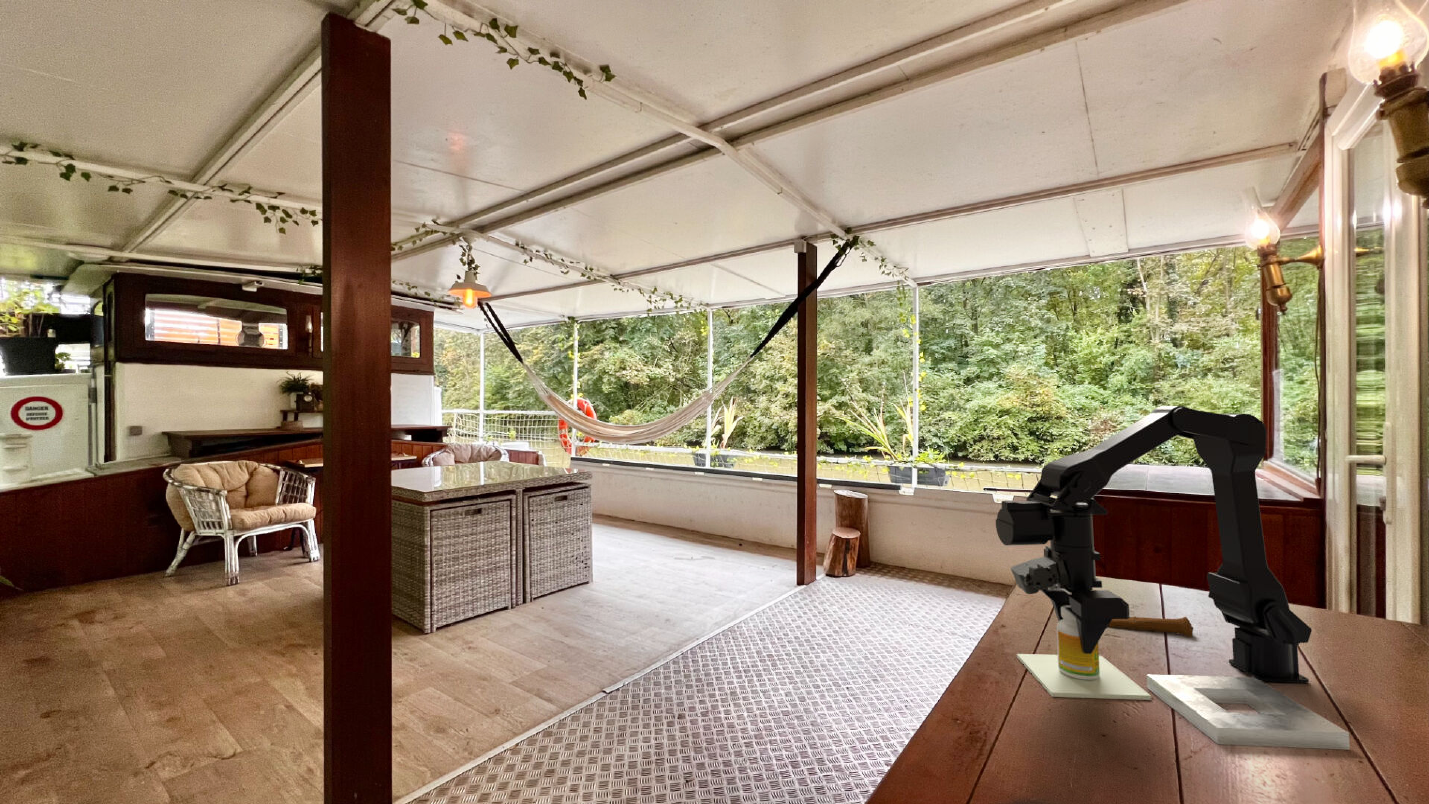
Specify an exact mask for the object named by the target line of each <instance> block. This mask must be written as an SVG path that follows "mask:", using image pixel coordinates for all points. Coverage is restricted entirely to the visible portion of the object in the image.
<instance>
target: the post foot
mask: <svg viewBox="0 0 1429 804" xmlns="http://www.w3.org/2000/svg"><path fill="white" fill-rule="evenodd" d="M1146 685H1147V686H1146V687H1147V689H1148V690H1149V691H1150V692H1151V693H1152V694H1154V695H1155V696H1156V697H1157V698H1159V699H1161V700H1162V701H1163V702H1164V703H1165V704H1167V705H1168V706H1169V707H1170V708H1172V709H1173V710H1174V711H1175V712H1176V713H1178V714H1179V715H1181V716H1182V717H1183V718H1185V719H1186V720H1187V721H1188V722H1189V723H1190V724H1192V725H1193V726H1194V727H1195V728H1197V729H1198V730H1200V731H1201V732H1202V733H1204V734H1205V736H1207V737H1208V738H1209V739H1211V740H1212V741H1214V743H1216V744H1217V745H1227V746H1228V745H1230V746H1231V745H1233V746H1254V747H1272V748H1273V747H1275V748H1278V747H1280V748H1298V749H1299V748H1300V749H1302V748H1303V749H1326V750H1346V751H1347V750H1349V751H1350V750H1351V748H1350V746H1351V745H1350V735H1349V734H1350V733H1349V731H1347V730H1346V729H1343V728H1341V727H1339V725H1336V724H1334V723H1333V722H1332V721H1329V720H1328V719H1326V718H1325V717H1323V716H1321V715H1319V714H1318V713H1316V712H1314V711H1313V710H1311V709H1309V708H1307V707H1306V706H1304V705H1302V704H1300V703H1299V702H1297V701H1295V700H1293V699H1292V698H1290V697H1288V696H1287V695H1285V694H1283V693H1282V692H1280V691H1278V690H1277V689H1275V688H1273V687H1272V686H1270V685H1268V684H1266V682H1264V681H1260V680H1258V679H1256V678H1254V677H1252V676H1225V675H1224V676H1223V675H1222V676H1219V675H1218V676H1217V675H1215V676H1214V675H1183V674H1182V675H1181V674H1178V675H1177V674H1146ZM1218 704H1233V705H1234V704H1237V705H1238V704H1240V705H1247V706H1249V707H1250V708H1251V709H1252V710H1255V711H1256V712H1258V713H1253V712H1246V713H1245V712H1228V711H1226V710H1225V709H1224V708H1222V707H1221V706H1220V705H1218Z"/></svg>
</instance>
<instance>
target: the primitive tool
mask: <svg viewBox="0 0 1429 804" xmlns="http://www.w3.org/2000/svg"><path fill="white" fill-rule="evenodd" d="M1129 617H1130V618H1129V619H1112V621H1111V622H1110V624H1109V625H1108V626H1107V628H1120V629H1128V630H1129V629H1130V630H1136V631H1137V630H1138V631H1146V632H1147V631H1148V632H1155V633H1167V634H1176V635H1177V634H1178V635H1180V636H1184V637H1188V638H1192V637H1193V635H1194V632H1193V631H1194V627H1193V624H1192V623H1191V622H1190V621H1191V620H1189V619H1188V617H1187V616H1184V617H1180V618H1159V617H1157V618H1156V617H1155V618H1154V617H1144V616H1143V617H1141V616H1140V617H1138V616H1129Z"/></svg>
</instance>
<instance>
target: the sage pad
mask: <svg viewBox="0 0 1429 804" xmlns="http://www.w3.org/2000/svg"><path fill="white" fill-rule="evenodd" d="M1016 658H1017V659H1018V661H1020V663H1022V665H1023V664H1024V665H1023V666H1024V667H1025V668H1026V670H1028V671H1029V672H1030V674H1031V673H1032V674H1031V675H1032V676H1033V677H1034V678H1035V679H1036V680H1037V682H1038V681H1039V682H1040V683H1041V684H1042V685H1041V684H1040V683H1039V682H1038V683H1039V684H1040V685H1041V686H1042V687H1043V688H1044V689H1045V690H1047V693H1048V694H1049V695H1050V696H1051V697H1054V698H1080V699H1081V698H1082V699H1086V698H1087V699H1112V700H1140V701H1141V700H1144V701H1145V700H1147V701H1151V700H1152V696H1151V694H1150V693H1148V692H1147V691H1146V690H1144V689H1143V688H1142V687H1141V686H1140V685H1138V684H1137V683H1136V682H1134V681H1133V680H1132V679H1131V678H1130V677H1129V676H1127V675H1126V674H1125V673H1124V672H1122V671H1121V670H1119V668H1117V667H1116V666H1115V665H1113V664H1112V663H1111V662H1110V661H1108V660H1107V659H1106V658H1105V657H1103V655H1099V671H1100V675H1099V677H1098V678H1097V679H1093V680H1083V679H1077V678H1073V677H1070V676H1068V675H1066V674H1064V673H1062V672H1061V671H1060V670H1059V668H1058V654H1044V653H1043V654H1040V653H1039V654H1037V653H1035V654H1033V653H1032V654H1031V653H1030V654H1029V653H1017V654H1016Z"/></svg>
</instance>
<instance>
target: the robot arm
mask: <svg viewBox="0 0 1429 804" xmlns="http://www.w3.org/2000/svg"><path fill="white" fill-rule="evenodd" d="M1267 434H1268V433H1267V429H1266V425H1265V423H1264V421H1262V420H1260V418H1258V417H1256V416H1255V415H1252V414H1249V413H1215V412H1210V411H1204V410H1198V409H1194V408H1190V407H1188V406H1184V405H1168V406H1166V405H1165V406H1163V405H1161V406H1158V407H1156V408H1155V409H1153V410H1152V411H1150V413H1149V414H1147V415H1146V416H1143V418H1141V419H1139V420H1137V421H1136V422H1134V423H1132V424H1131V425H1129V426H1128V427H1126V428H1124V429H1122V430H1120V431H1119V432H1118V433H1115V434H1114V435H1112V436H1110V437H1109V438H1107V439H1105V440H1103V441H1102V442H1100V443H1099V444H1097V445H1096V446H1094V447H1092V448H1090V449H1088V450H1085V451H1081V452H1077V453H1073V454H1070V455H1066V456H1064V457H1063V456H1062V457H1061V458H1058V459H1056V460H1052V461H1050V462H1048V463H1047V464H1046V465H1044V466H1043V467H1042V469H1041V475H1040V479H1039V480H1038V482H1037V483H1036V485H1035V486H1034V488H1033V489H1032V490H1031V491H1030V493H1029V495H1028V496H1027V498H1026V500H1024V501H1018V500H1017V501H1014V500H1002V501H1001V508H1000V509H999V510H998V512H997V515H996V519H995V529H996V534H997V536H998V539H999V540H1000V542H1001V543H1002V544H1003V545H1004V546H1032V545H1035V546H1036V545H1037V546H1038V545H1045V548H1044V549H1043V556H1042V557H1038V558H1033V559H1030V560H1028V561H1024V562H1021V563H1017V564H1016V565H1013V566H1011V568H1010V571H1011V573H1012V575H1013V577H1014V580H1015V582H1016V584H1017V586H1018V588H1019V589H1021V590H1022V591H1024V593H1026V594H1027V595H1034V594H1035V595H1036V594H1038V592H1039V591H1040V592H1042V593H1043V594H1044V595H1045V596H1046V597H1047V598H1048V599H1049V600H1050V602H1051V604H1052V606H1053V610H1054V612H1055V615H1056V618H1057V622H1058V621H1060V620H1062V619H1063V618H1062V615H1061V607H1062V606H1066V605H1070V606H1071V607H1065V609H1066V610H1067V611H1068V612H1069V613H1071V614H1072V615H1073V616H1074V617H1075V618H1076V622H1077V627H1078V633H1079V638H1080V643H1081V647H1082V651H1083V652H1084V653H1085V654H1091V653H1092V652H1093V650H1094V648H1095V647H1096V645H1097V643H1098V644H1099V641H1100V639H1101V637H1102V636H1103V634H1104V632H1105V631H1106V630H1107V628H1108V627H1107V626H1108V625H1109V624H1110V622H1111V621H1112V619H1129V618H1130V617H1131V616H1130V604H1129V603H1128V602H1127V601H1126V600H1124V599H1123V598H1122V597H1120V596H1119V595H1118V594H1115V593H1113V592H1112V591H1110V590H1107V589H1105V590H1103V589H1102V588H1103V581H1102V580H1101V579H1099V578H1097V577H1096V561H1101V553H1100V552H1098V551H1096V550H1095V546H1094V544H1095V542H1094V527H1093V525H1094V524H1093V516H1096V515H1107V514H1108V513H1109V512H1108V510H1107V509H1106V508H1104V507H1103V506H1102V505H1101V504H1100V503H1098V502H1097V501H1096V499H1095V498H1094V497H1095V496H1096V495H1097V494H1099V493H1100V492H1101V491H1102V490H1103V489H1104V488H1105V487H1107V486H1108V484H1109V482H1110V480H1111V478H1112V477H1113V476H1114V475H1115V474H1116V473H1117V472H1118V471H1119V470H1121V469H1122V468H1124V467H1126V466H1127V465H1129V464H1131V463H1132V462H1134V461H1136V460H1138V459H1139V458H1142V456H1144V455H1146V454H1148V453H1149V452H1151V451H1154V449H1156V448H1158V447H1160V446H1161V445H1163V444H1165V443H1166V442H1169V440H1171V439H1173V438H1175V437H1176V436H1178V437H1180V438H1185V439H1189V440H1193V444H1194V446H1195V449H1196V453H1197V455H1198V456H1199V457H1200V459H1201V460H1202V461H1203V463H1204V464H1205V465H1206V467H1207V468H1208V469H1209V471H1210V473H1211V477H1212V485H1213V487H1212V488H1213V493H1214V501H1215V502H1214V503H1215V510H1216V516H1217V517H1216V518H1217V525H1218V532H1219V540H1220V541H1219V542H1220V548H1221V555H1222V557H1221V558H1222V562H1221V565H1220V566H1219V568H1218V570H1217V571H1216V572H1208V573H1207V574H1206V579H1207V583H1208V586H1209V591H1208V596H1207V597H1208V598H1209V599H1212V600H1213V604H1214V606H1215V608H1216V609H1218V610H1219V611H1220V612H1221V614H1222V616H1223V619H1224V621H1225V622H1226V623H1227V624H1231V625H1233V626H1235V627H1234V637H1233V638H1232V639H1231V641H1232V659H1228V664H1230V665H1232V666H1234V667H1235V668H1237V669H1238V670H1241V671H1242V672H1244V673H1246V674H1247V675H1249V676H1250V677H1254V678H1256V679H1258V680H1259V681H1261V682H1265V683H1266V682H1269V683H1270V682H1271V683H1272V682H1274V683H1303V684H1304V683H1308V684H1309V682H1310V681H1309V678H1308V677H1306V676H1304V675H1302V674H1301V673H1300V667H1299V652H1298V651H1299V650H1298V646H1299V644H1306V643H1309V641H1310V637H1311V633H1312V628H1311V627H1310V626H1309V625H1308V624H1307V623H1306V622H1305V621H1303V620H1302V619H1301V618H1300V617H1299V616H1298V615H1297V614H1296V613H1294V612H1293V611H1292V610H1291V609H1290V605H1289V601H1288V598H1287V595H1286V592H1285V589H1284V587H1283V585H1282V584H1281V582H1280V581H1279V580H1278V579H1277V577H1276V576H1275V575H1274V573H1273V572H1272V571H1271V569H1270V567H1268V563H1267V555H1266V548H1265V541H1264V540H1265V539H1264V533H1263V532H1264V531H1263V525H1262V523H1263V522H1262V516H1261V509H1260V502H1259V493H1258V492H1259V491H1258V486H1257V477H1256V470H1257V468H1258V467H1259V465H1260V464H1261V462H1262V460H1263V459H1264V457H1265V455H1266V452H1267V450H1266V449H1267ZM1048 542H1049V544H1050V545H1047V546H1046V544H1047V543H1048ZM1093 588H1094V589H1093ZM1096 588H1097V589H1098V590H1097V589H1096Z"/></svg>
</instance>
